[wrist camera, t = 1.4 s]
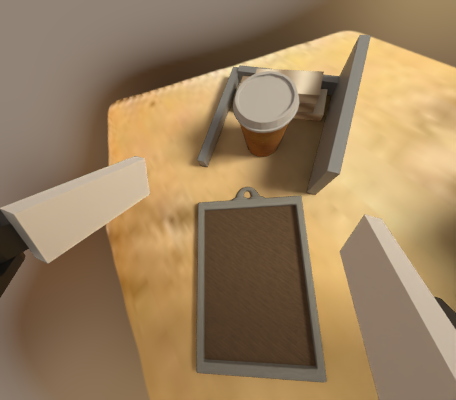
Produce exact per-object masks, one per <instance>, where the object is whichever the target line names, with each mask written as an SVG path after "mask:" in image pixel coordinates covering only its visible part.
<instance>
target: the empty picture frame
mask: <svg viewBox="0 0 456 400" xmlns="http://www.w3.org/2000/svg"><path fill="white" fill-rule="evenodd" d="M246 191H249V192H250V193H251V197H250V198H249V199H247V198H244V193H245V192H246ZM197 373H205V374H218V375H231V376H245V377H258V378H271V379H285V380H298V381H311V382H327V378H326V370H325V363H324V356H323V348H322V341H321V334H320V327H319V319H318V312H317V305H316V298H315V290H314V283H313V276H312V269H311V261H310V254H309V247H308V240H307V233H306V225H305V218H304V211H303V204H302V197H301V196H290V197H275V198H264V197H262V196H259V194H258V192H257V191H256V190H255V189H253V188H251V187H245V188H242V189H241V190H240V191H239V192H238V194H237V197H236V198H234V199H233V200H231V201H217V202H202V203H198V278H197Z"/></svg>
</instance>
